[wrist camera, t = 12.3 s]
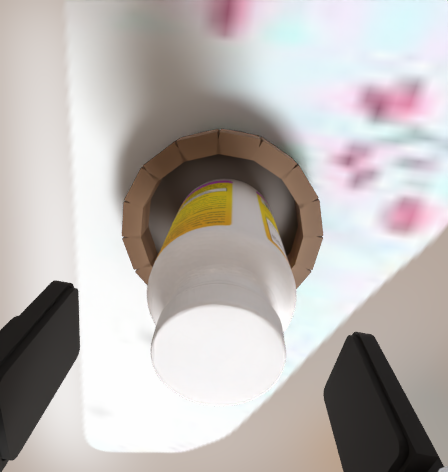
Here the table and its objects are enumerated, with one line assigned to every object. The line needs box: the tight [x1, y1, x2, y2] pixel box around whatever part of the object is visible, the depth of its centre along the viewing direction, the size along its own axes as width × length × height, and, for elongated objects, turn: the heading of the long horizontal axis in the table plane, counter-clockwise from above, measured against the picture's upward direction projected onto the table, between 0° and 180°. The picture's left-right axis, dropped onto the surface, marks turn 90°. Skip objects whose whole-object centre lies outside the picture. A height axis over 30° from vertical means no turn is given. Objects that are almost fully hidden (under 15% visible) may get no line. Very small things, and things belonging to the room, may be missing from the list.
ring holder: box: [122, 129, 323, 289], centre depth 22 cm, size 13×13×3 cm
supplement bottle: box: [147, 179, 296, 406], centre depth 17 cm, size 7×7×13 cm
